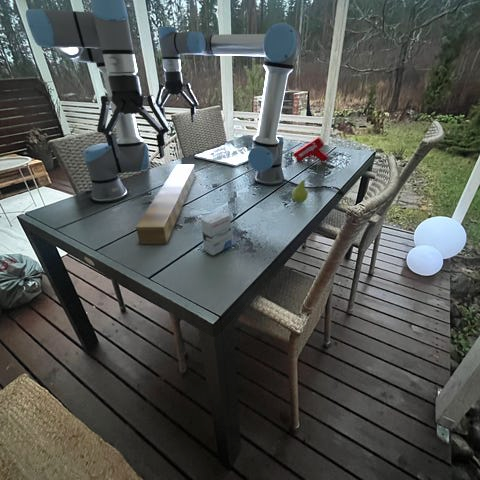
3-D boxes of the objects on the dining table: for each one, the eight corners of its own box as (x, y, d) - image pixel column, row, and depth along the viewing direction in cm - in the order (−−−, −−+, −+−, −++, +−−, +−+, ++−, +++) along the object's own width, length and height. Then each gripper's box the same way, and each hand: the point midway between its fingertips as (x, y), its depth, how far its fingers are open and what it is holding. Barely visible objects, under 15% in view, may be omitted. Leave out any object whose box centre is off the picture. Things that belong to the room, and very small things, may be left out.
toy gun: (332, 156, 168) (319, 135, 164) (331, 158, 165) (319, 137, 161) (306, 172, 178) (294, 152, 174) (305, 174, 175) (293, 154, 171)
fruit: (288, 200, 123) (290, 174, 116) (302, 197, 125) (305, 172, 119) (296, 206, 118) (299, 179, 111) (310, 203, 120) (314, 177, 114)
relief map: (235, 166, 165) (235, 158, 162) (194, 157, 182) (193, 149, 179) (260, 156, 183) (260, 148, 180) (220, 148, 201) (220, 141, 198)
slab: (178, 176, 151) (177, 164, 148) (195, 176, 151) (194, 164, 148) (139, 243, 94) (135, 227, 90) (166, 243, 94) (163, 227, 90)
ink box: (222, 240, 95) (220, 209, 89) (232, 245, 92) (231, 214, 86) (203, 250, 90) (200, 218, 84) (212, 256, 87) (210, 224, 81)
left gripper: (67, 75, 67) (92, 160, 79) (167, 74, 67) (178, 160, 78) (82, 74, 73) (103, 153, 85) (173, 73, 73) (183, 153, 85)
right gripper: (142, 71, 117) (151, 123, 129) (199, 70, 117) (203, 123, 129) (147, 71, 124) (155, 121, 135) (201, 70, 123) (205, 120, 135)
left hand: (139, 157), depth 82 cm, fingers open, 13 cm apart
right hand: (178, 122), depth 132 cm, fingers open, 13 cm apart
